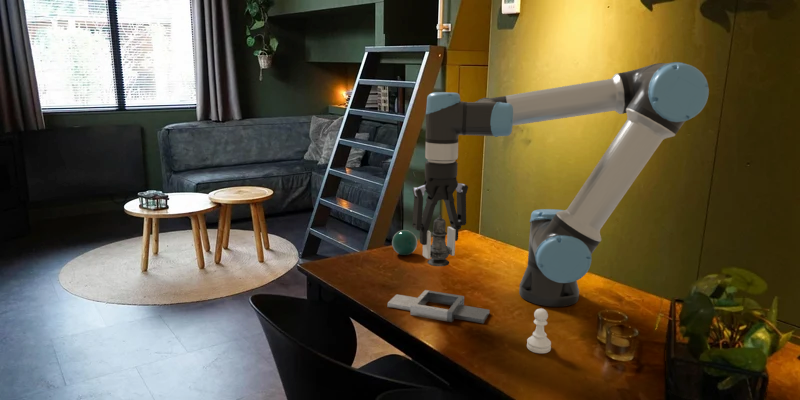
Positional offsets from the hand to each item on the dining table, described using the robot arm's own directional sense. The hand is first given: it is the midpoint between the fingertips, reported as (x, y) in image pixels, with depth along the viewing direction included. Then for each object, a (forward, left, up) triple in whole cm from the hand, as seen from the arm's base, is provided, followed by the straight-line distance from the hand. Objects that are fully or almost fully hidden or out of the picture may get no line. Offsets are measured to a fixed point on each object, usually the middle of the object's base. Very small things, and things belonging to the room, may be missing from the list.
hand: (438, 255), depth 137 cm
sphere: (+23, -36, -14) cm, 45 cm away
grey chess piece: (0, 0, -2) cm, 2 cm away
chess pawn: (-26, +10, -14) cm, 31 cm away
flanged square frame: (0, 0, -14) cm, 14 cm away
